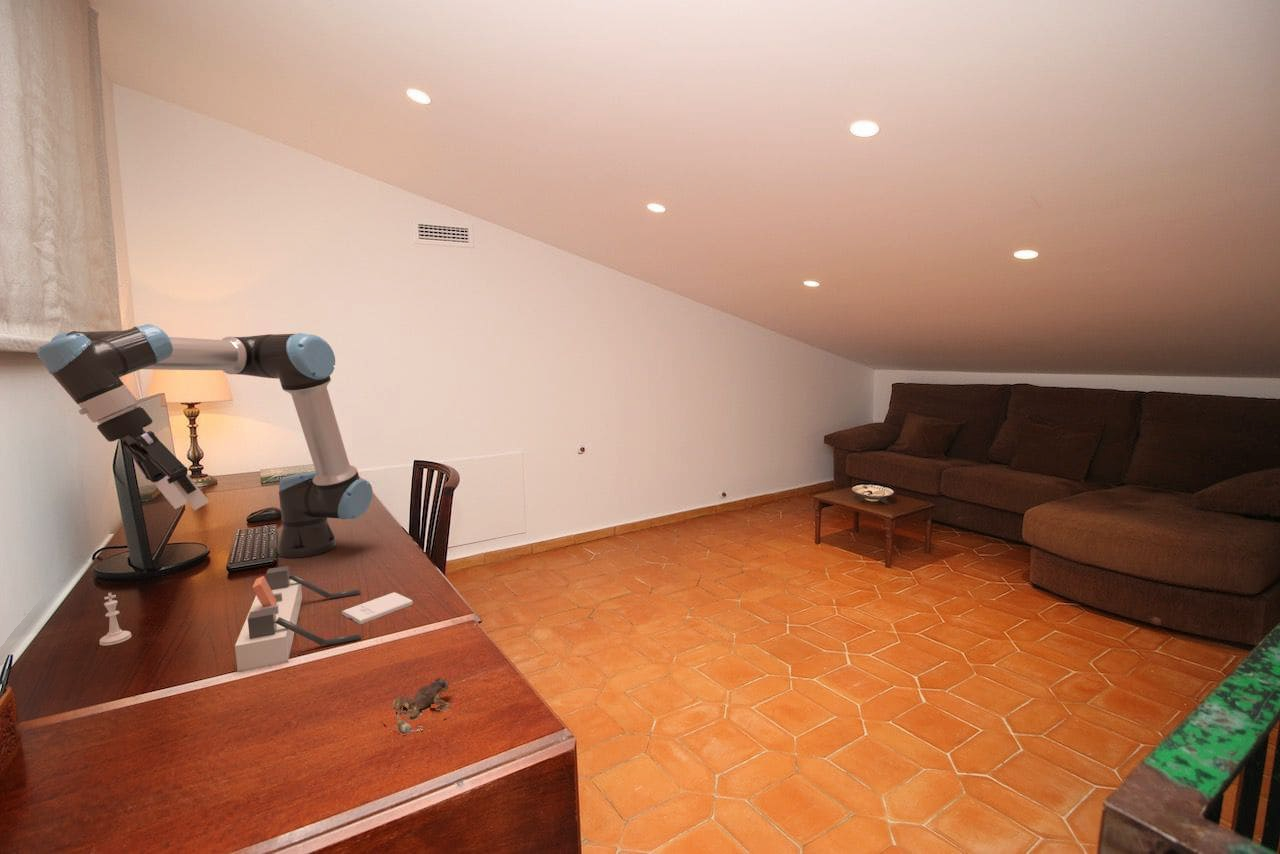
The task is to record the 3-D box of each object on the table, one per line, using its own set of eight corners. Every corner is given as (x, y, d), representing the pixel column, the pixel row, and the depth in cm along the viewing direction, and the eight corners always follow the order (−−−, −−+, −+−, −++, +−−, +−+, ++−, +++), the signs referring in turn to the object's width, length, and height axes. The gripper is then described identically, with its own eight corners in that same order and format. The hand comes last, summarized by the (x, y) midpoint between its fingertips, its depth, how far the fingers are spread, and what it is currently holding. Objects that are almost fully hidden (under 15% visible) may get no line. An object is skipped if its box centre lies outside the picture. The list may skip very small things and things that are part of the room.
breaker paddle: (265, 612, 119) (252, 587, 118) (268, 603, 124) (256, 579, 122) (273, 608, 120) (260, 584, 118) (276, 599, 124) (263, 575, 123)
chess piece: (98, 640, 119) (91, 593, 118) (129, 631, 122) (124, 586, 121) (100, 648, 116) (94, 600, 114) (133, 639, 119) (127, 592, 118)
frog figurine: (431, 683, 103) (430, 663, 103) (471, 709, 95) (470, 687, 95) (367, 714, 94) (366, 692, 94) (405, 745, 87) (404, 722, 86)
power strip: (237, 671, 107) (232, 625, 105) (262, 604, 135) (259, 567, 134) (361, 646, 115) (358, 603, 114) (360, 588, 144) (358, 553, 143)
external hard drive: (413, 606, 135) (360, 626, 125) (394, 598, 140) (341, 616, 130) (412, 600, 135) (360, 619, 125) (393, 591, 140) (341, 609, 130)
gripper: (83, 429, 114) (156, 515, 122) (108, 419, 99) (190, 518, 106) (125, 410, 119) (193, 494, 127) (156, 398, 104) (230, 494, 111)
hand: (191, 505), depth 117 cm, fingers open, 13 cm apart
